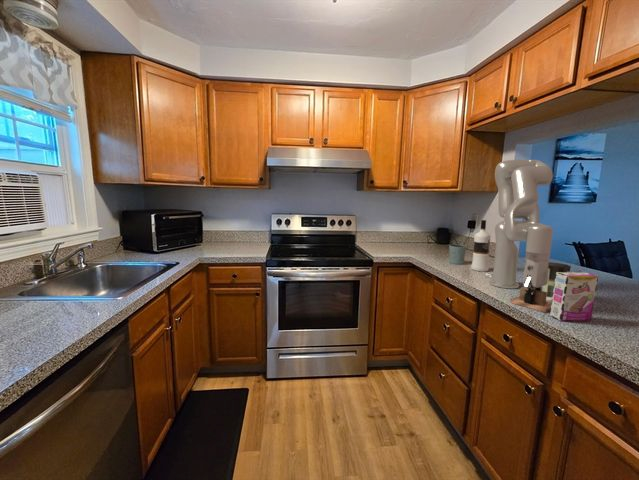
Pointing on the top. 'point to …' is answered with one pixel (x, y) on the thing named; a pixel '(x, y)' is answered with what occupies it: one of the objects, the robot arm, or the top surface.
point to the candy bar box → (573, 296)
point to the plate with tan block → (538, 301)
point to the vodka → (481, 249)
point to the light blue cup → (457, 254)
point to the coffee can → (553, 276)
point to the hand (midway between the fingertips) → (532, 301)
